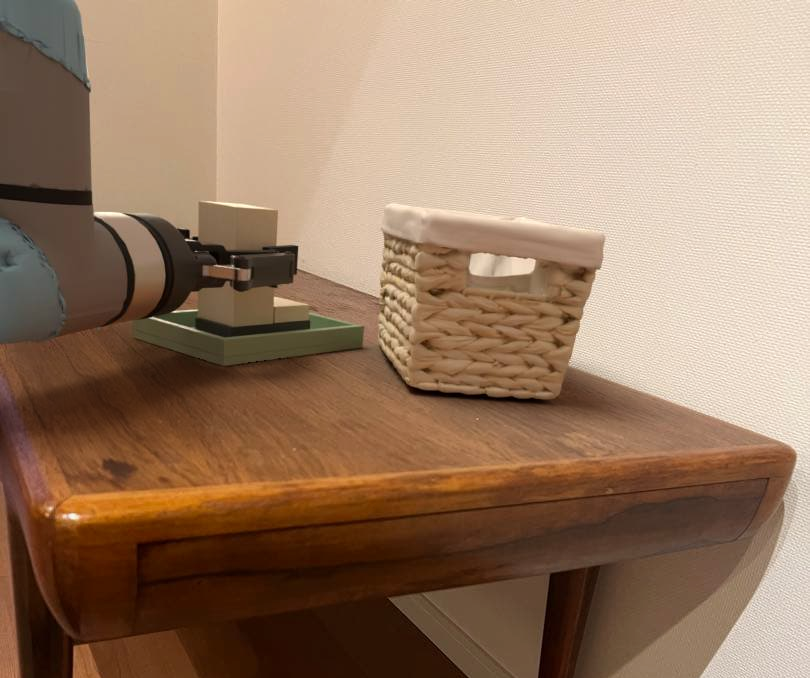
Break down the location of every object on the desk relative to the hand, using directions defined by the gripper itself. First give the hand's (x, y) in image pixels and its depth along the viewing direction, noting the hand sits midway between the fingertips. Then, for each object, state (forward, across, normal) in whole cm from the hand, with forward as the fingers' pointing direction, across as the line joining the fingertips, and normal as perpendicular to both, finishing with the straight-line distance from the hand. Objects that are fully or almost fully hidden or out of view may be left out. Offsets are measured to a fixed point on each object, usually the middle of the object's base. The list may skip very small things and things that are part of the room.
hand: (260, 254), depth 78 cm
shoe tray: (-3, +1, -8) cm, 9 cm away
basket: (+1, +22, -8) cm, 23 cm away
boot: (-3, +1, -8) cm, 8 cm away
